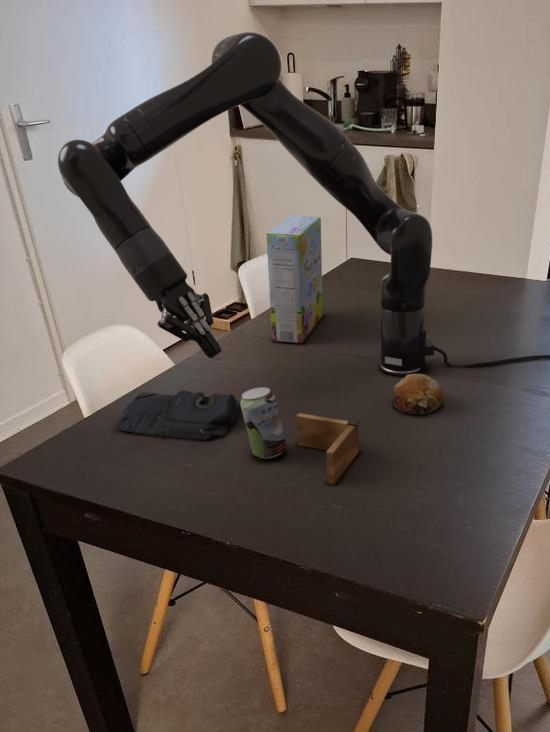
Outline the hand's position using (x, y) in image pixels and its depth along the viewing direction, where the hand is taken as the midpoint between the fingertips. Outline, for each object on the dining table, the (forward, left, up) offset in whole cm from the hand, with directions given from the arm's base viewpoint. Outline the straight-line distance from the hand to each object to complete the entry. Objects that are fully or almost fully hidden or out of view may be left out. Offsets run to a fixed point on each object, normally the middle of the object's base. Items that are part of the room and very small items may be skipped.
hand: (216, 354), depth 117 cm
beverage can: (-7, +5, -17) cm, 19 cm away
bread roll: (-38, -9, -17) cm, 42 cm away
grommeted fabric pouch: (+9, -12, -17) cm, 23 cm away
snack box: (-19, -58, -17) cm, 63 cm away
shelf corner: (-16, +10, -17) cm, 25 cm away
